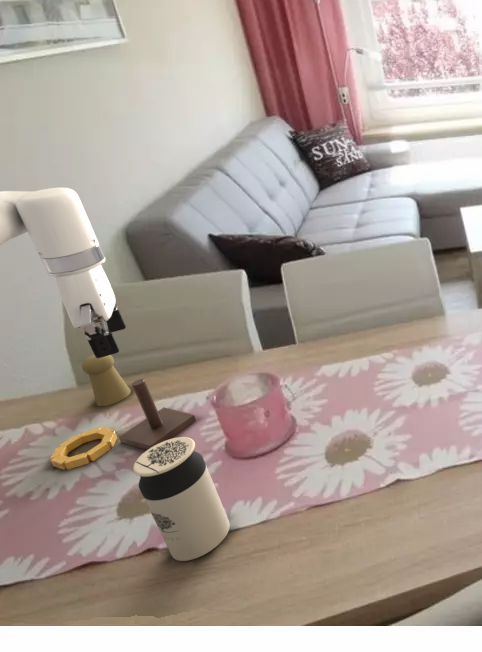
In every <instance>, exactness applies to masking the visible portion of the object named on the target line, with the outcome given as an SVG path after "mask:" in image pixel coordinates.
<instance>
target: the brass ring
mask: <svg viewBox="0 0 482 652" xmlns="http://www.w3.org/2000/svg"><path fill="white" fill-rule="evenodd" d="M96 440H101V441H100V443H98V444H96V446H94V447H92V448H91V449H89V450H88V451H86V452H83V453H79V454H76V455H72V456H68V455H69V453H70V452H72V451H73V450H75V449H76V448H78V447H80V446H81V445H83V444H85V443H89V442H92V441H96ZM117 440H118V435H117V433H116V431H115V429H112V428H109V427H106V426H103V427H97V428H93V429H90V430H85V431H83V432H80V434H76V435H74V436H72V437H70V438H69V439H67V440H65V441H64V442H62V443H61V444H59V445H58V447H55V449H54V451H53V452H52V453H51V456H50V457H49V461H50V462H51V464H52V466H53V467H55V468H57V469H60V470H64V471H65V470H71V469H74V468H78V467H81V466H84V465H88V464H90V462H94V461H96V460H97V459H99V458H100V457H102V456H104V455H105V454H106V453H108V452H109V451H111V449H112V448H114V446H115V444H116V442H117Z"/></svg>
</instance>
